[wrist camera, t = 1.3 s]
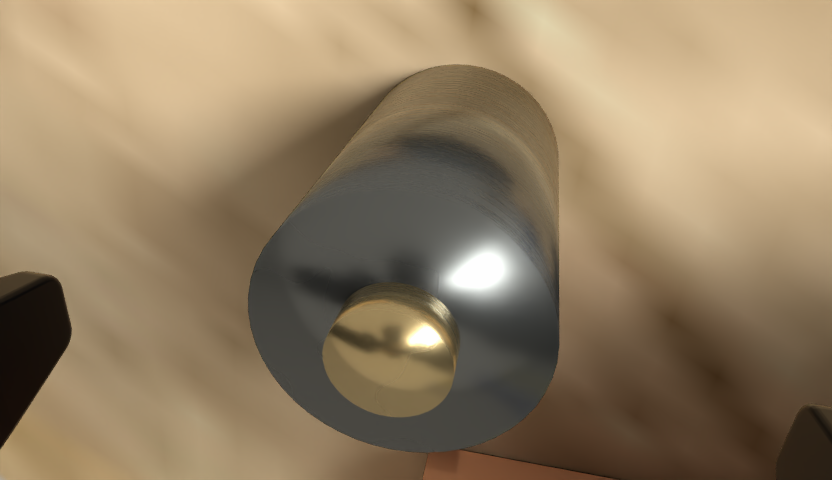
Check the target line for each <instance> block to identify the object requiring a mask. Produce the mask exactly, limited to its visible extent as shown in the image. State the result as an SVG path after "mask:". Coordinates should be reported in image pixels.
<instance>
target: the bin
mask: <svg viewBox="0 0 832 480" xmlns="http://www.w3.org/2000/svg"><path fill="white" fill-rule="evenodd" d="M423 480H617V479H611V478H606V477H601V476H595V475H590V474H585V473H580V472H574V471H569V470H564V469H558V468H553V467H548V466H542V465H537V464H532V463H526V462H521V461H516V460H510V459H505V458H500V457H494V456H489V455H484V454H478V453H473V452H468V451H463V450H452V451H446V452H430V453H428V458H427V462H426V466H425V471H424V475H423Z"/></svg>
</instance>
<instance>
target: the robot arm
mask: <svg viewBox="0 0 832 480" xmlns="http://www.w3.org/2000/svg"><path fill="white" fill-rule="evenodd" d="M71 332H72V328H71V323H70V319H69V314H68V310H67V306H66V302H65V298H64V293H63V289H62V286H61V283H60V282H59V281H58V279H57V278H55V277H53V276H51V275H47V274H41V273H35V272H28V271H25V272H18V273H15V274H11V275H8V276H5V277H1V278H0V449H1V448H2V446H3V445H4V443H5V442H6V440H7V439H8V438H9V436H10V435H11V433H12V432H13V430H14V429H15V427H16V426H17V424H18V423H19V421H20V419H21V418H22V416H23V415H24V413H25V412H26V410H27V409H28V407H29V406H30V404H31V402H32V401H33V399H34V398H35V396H36V395H37V393H38V392H39V390H40V389H41V387H42V385H43V384H44V382H45V381H46V379H47V378H48V376H49V375H50V373H51V372H52V370H53V368H54V367H55V365H56V364H57V362H58V361H59V359H60V358H61V356H62V355H63V353H64V351H65V350H66V348H67V346H68V344H69V342H70V338H71ZM776 480H832V407H828V406H822V405H817V404H808V405H805V406H803V407H802V408H801V409H800V410H799V412H798V413H797V415H796V417H795V420H794V422H793V424H792V426H791V428H790V431H789V433H788V435H787V437H786V439H785V441H784V444H783V446H782V448H781V450H780V452H779V455H778V458H777V462H776Z"/></svg>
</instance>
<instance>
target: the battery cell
mask: <svg viewBox="0 0 832 480" xmlns="http://www.w3.org/2000/svg"><path fill="white" fill-rule="evenodd" d="M248 312H249V319H250V326H251V330H252V333H253V337H254V340H255V343H256V346H257V348H258V350H259V352H260V355H261V357H262V359H263V361H264V362H265V364H266V366H267V367H268V369H269V371H270V372H271V374H272V375H273V377H274V378H275V379H276V381H277V382H278V383H279V384H280V386H281V387H282V388H283V389H284V390H285V391H286V392H287V393H288V394H289V396H290V397H291V398H292V399H293V400H294V401H295V402H297V403H298V404H299V405H300V406H301V407H302V408H304V409H305V410H306V411H307V412H308V413H310V414H311V415H313V416H314V417H316V418H317V419H318V420H320V421H321V422H323V423H325V424H326V425H328V426H330V427H332V428H333V429H335V430H337V431H339V432H341V433H343V434H345V435H348V436H350V437H352V438H354V439H357V440H360V441H363V442H366V443H369V444H372V445H375V446H379V447H384V448H388V449H393V450H400V451H407V452H424V453H430V452H446V451H452V450H458V449H464V448H467V447H471V446H475V445H478V444H481V443H484V442H486V441H488V440H491V439H493V438H496V437H497V436H499V435H501V434H503V433H504V432H506V431H508V430H510V429H511V428H513V427H514V426H515V425H516V424H518V423H519V422H520V421H522V420H523V419H524V418H525V417H526V416H527V415H528V414H529V413H530V412H531V411H532V410H533V409H534V408H535V407H536V405H537V404H538V403H539V401H540V400H541V398H542V397H543V396H544V394H545V392H546V390H547V388H548V386H549V384H550V382H551V380H552V378H553V375H554V371H555V368H556V365H557V359H558V351H559V173H558V148H557V142H556V137H555V134H554V131H553V128H552V126H551V124H550V122H549V119H548V117H547V115H546V114H545V112H544V111H543V109H542V108H541V106H540V105H539V103H538V102H537V101H536V100H535V99H534V98H533V97H532V96H531V95H530V93H528V92H527V91H526V90H525V89H524V88H522V87H521V86H520V85H519V84H517V83H516V82H514V81H513V80H511V79H509V78H508V77H506V76H504V75H501V74H499V73H497V72H495V71H492V70H489V69H485V68H482V67H477V66H471V65H444V66H438V67H434V68H430V69H427V70H424V71H421V72H419V73H416V74H414V75H412V76H411V77H409V78H407V79H405V80H404V81H402V82H401V83H400V84H398V85H397V86H396V87H394V88H393V89H392V90H391V91H390V92H389V93H388V94H387V95H386V96H385V98H384V99H383V100H382V101H381V103H380V104H379V105H378V106H377V108H376V109H375V110H374V111H373V113H372V114H371V115H370V116H369V118H368V119H367V120H366V121H365V122H364V124H363V125H362V126H361V127H360V129H359V130H358V131H357V132H356V134H355V135H354V136H353V137H352V139H351V140H350V141H349V142H348V144H347V145H346V146H345V147H344V148H343V150H342V151H341V152H340V153H339V155H338V156H337V157H336V158H335V160H334V161H333V162H332V163H331V165H330V166H329V167H328V168H327V170H326V171H325V172H324V173H323V174H322V176H321V177H320V178H319V179H318V181H317V182H316V183H315V184H314V186H313V187H312V188H311V189H310V191H309V192H308V193H307V194H306V196H305V197H304V198H303V199H302V200H301V202H300V203H299V204H298V205H297V207H296V208H295V209H294V210H293V212H292V213H291V214H290V215H289V217H288V218H287V219H286V220H285V222H284V223H283V224H282V225H281V226H280V228H279V229H278V230H277V231H276V233H275V234H274V235H273V237H272V238H271V239H270V240H269V242H268V243H267V244H266V246H265V247H264V249H263V251H262V252H261V254H260V256H259V258H258V260H257V262H256V264H255V267H254V271H253V274H252V277H251V281H250V287H249V294H248Z"/></svg>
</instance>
